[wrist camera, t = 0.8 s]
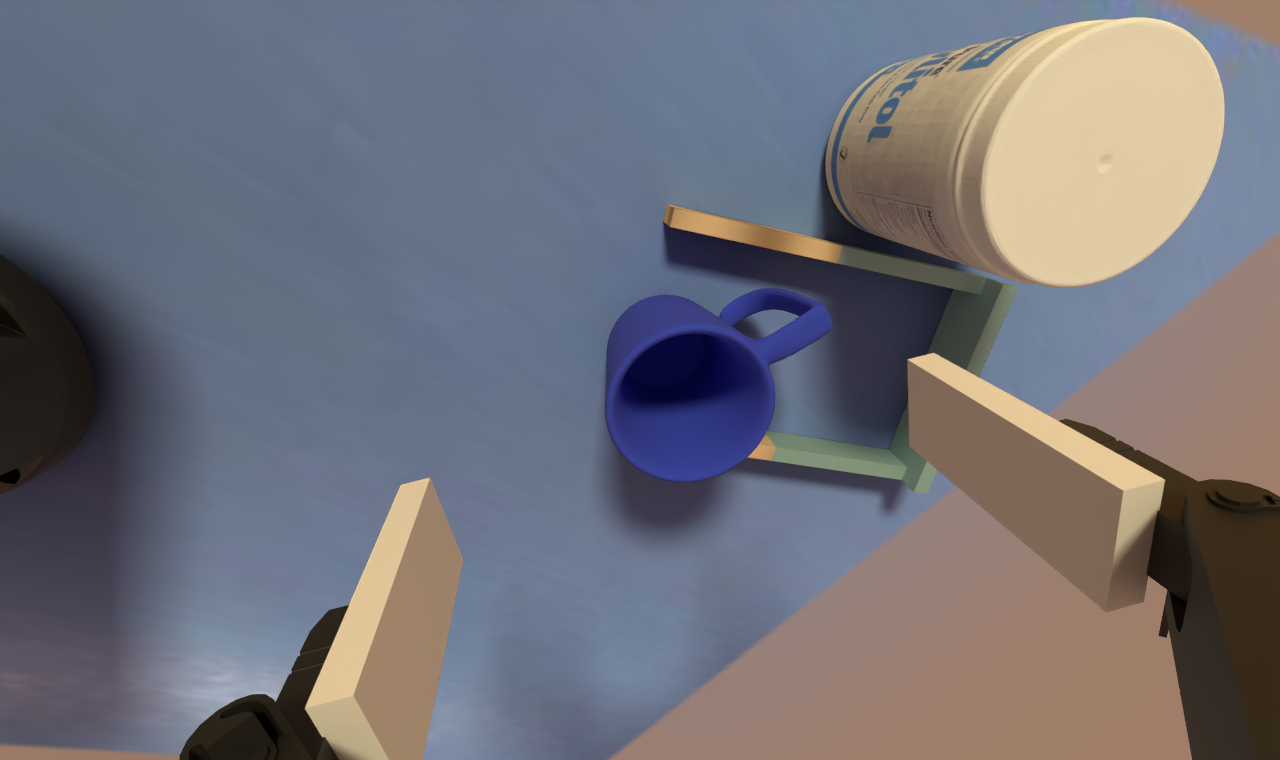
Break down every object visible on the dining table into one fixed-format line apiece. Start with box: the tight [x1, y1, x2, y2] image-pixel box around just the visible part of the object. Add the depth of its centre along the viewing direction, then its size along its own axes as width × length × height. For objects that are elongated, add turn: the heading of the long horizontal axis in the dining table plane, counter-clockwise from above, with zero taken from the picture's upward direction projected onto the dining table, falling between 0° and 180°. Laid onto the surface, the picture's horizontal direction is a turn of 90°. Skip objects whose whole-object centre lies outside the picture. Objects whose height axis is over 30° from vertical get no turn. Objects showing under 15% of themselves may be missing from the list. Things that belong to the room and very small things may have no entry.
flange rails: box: [663, 204, 843, 461], centre depth 37 cm, size 10×14×2 cm
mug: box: [605, 288, 833, 482], centre depth 33 cm, size 8×12×10 cm
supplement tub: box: [825, 17, 1224, 288], centre depth 28 cm, size 10×10×15 cm
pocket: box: [766, 240, 1018, 494], centre depth 38 cm, size 10×14×4 cm
